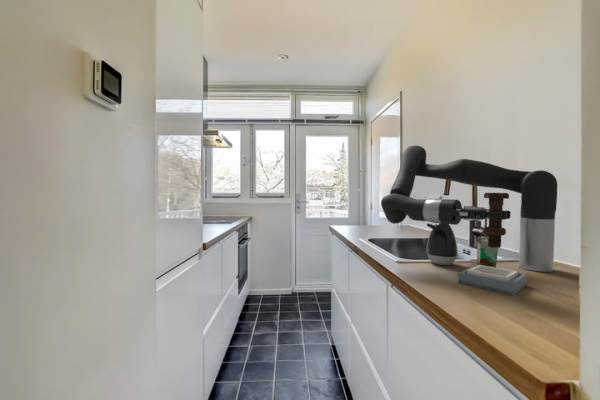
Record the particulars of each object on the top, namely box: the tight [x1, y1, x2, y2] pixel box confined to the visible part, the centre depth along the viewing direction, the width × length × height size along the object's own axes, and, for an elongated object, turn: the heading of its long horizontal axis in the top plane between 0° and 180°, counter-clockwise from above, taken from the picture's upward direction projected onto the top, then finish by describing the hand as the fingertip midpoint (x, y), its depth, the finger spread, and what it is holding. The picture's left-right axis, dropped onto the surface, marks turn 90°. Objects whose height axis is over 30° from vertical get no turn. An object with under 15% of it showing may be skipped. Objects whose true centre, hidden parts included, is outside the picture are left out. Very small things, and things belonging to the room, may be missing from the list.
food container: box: [476, 236, 499, 268], centre depth 101 cm, size 12×6×10 cm, turn 154°
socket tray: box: [457, 265, 527, 296], centre depth 84 cm, size 13×13×4 cm
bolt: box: [483, 192, 510, 249], centre depth 83 cm, size 6×5×15 cm
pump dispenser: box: [425, 222, 459, 266], centre depth 108 cm, size 10×10×15 cm
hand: (507, 215), depth 81 cm, fingers closed on bolt, 3 cm apart
